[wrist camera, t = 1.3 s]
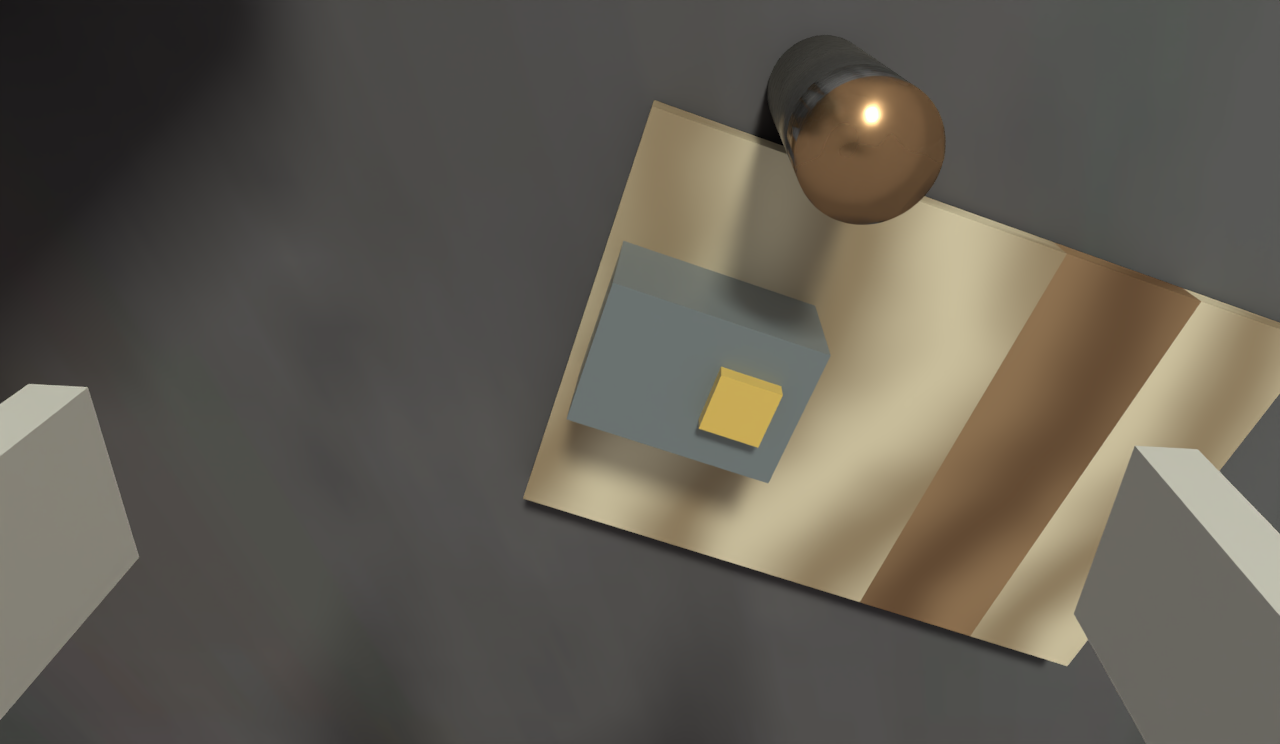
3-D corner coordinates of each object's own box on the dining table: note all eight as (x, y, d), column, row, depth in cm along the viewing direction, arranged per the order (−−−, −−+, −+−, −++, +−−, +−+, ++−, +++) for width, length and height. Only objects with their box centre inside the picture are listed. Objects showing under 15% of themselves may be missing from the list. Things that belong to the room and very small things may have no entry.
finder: (581, 364, 31) (563, 428, 27) (623, 240, 29) (610, 290, 25) (760, 423, 32) (769, 493, 28) (815, 305, 30) (833, 363, 26)
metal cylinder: (751, 124, 28) (772, 197, 20) (791, 19, 27) (831, 53, 19) (846, 158, 29) (904, 243, 21) (892, 56, 27) (972, 105, 19)
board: (528, 481, 35) (522, 498, 34) (654, 100, 28) (652, 106, 27) (1056, 645, 37) (1067, 666, 36) (1297, 328, 30) (1318, 343, 29)
